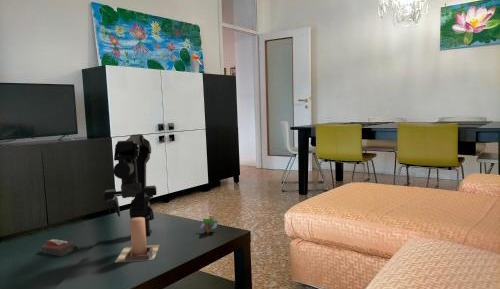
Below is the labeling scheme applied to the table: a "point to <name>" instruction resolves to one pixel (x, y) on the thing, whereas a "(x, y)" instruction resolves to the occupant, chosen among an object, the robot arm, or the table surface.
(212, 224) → the geometric puzzle
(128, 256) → the walnut socket
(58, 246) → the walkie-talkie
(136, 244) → the terracotta column
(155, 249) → the tan flat square frame
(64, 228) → the table surface
